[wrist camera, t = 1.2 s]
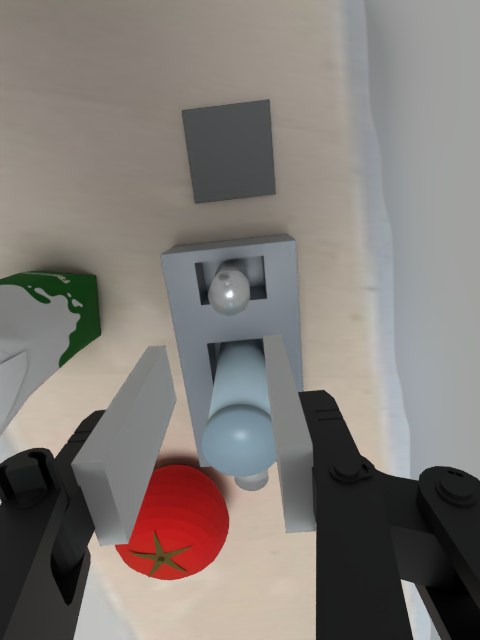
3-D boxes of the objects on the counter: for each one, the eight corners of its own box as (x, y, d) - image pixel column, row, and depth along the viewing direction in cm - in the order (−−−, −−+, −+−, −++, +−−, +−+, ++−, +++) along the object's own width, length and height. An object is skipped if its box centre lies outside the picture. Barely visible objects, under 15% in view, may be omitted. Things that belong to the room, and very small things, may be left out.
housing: (173, 246, 35) (160, 255, 29) (287, 233, 34) (295, 240, 28) (205, 432, 43) (200, 467, 37) (298, 424, 42) (306, 458, 36)
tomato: (239, 461, 44) (238, 534, 34) (220, 527, 49) (214, 610, 39) (134, 441, 43) (102, 511, 34) (124, 511, 48) (93, 591, 38)
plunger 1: (213, 261, 31) (205, 277, 24) (247, 258, 31) (247, 273, 24) (217, 294, 32) (211, 317, 26) (250, 291, 32) (251, 313, 25)
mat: (182, 112, 30) (181, 110, 30) (268, 101, 30) (269, 99, 29) (195, 203, 33) (195, 203, 32) (275, 194, 33) (275, 193, 32)
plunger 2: (234, 420, 37) (232, 465, 31) (262, 417, 37) (266, 463, 30) (237, 443, 38) (236, 491, 32) (265, 441, 38) (269, 489, 31)
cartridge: (215, 328, 37) (196, 416, 22) (263, 323, 36) (277, 409, 21) (221, 370, 38) (207, 479, 23) (267, 366, 38) (283, 473, 23)
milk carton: (34, 337, 38) (-167, 468, 19) (22, 260, 35) (-230, 328, 16) (109, 342, 38) (-19, 477, 20) (104, 266, 35) (-54, 340, 17)
